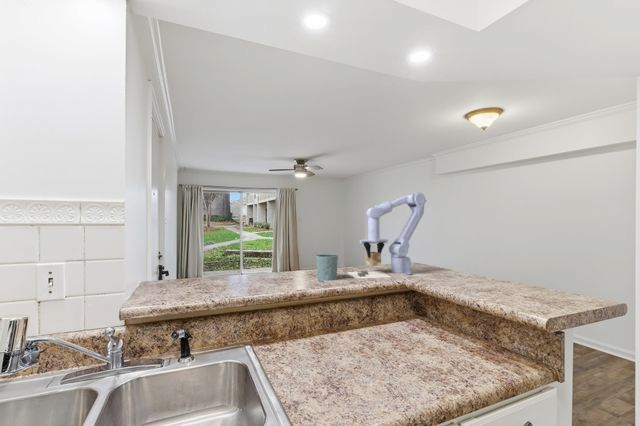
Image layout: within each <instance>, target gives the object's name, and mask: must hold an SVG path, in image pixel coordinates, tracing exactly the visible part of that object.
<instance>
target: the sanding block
mask: <svg viewBox="0 0 640 426" xmlns="http://www.w3.org/2000/svg"><path fill="white" fill-rule="evenodd" d="M366 264H368V265H370V266H373V267H375V266H382V252H381V253H378V251H370V258H368V255H367V254H366Z"/></svg>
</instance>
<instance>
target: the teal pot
mask: <svg viewBox="0 0 640 426" xmlns="http://www.w3.org/2000/svg"><path fill="white" fill-rule="evenodd" d="M315 260H316V261H315V262H316V269H317V281H318V283H321V282H322V284H325V281H326V282H327V281H336V280H337V279H338V261H339V255H338V254H335V253H325V254H324V253H322V254H316V255H315Z"/></svg>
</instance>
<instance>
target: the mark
mask: <svg viewBox="0 0 640 426" xmlns="http://www.w3.org/2000/svg"><path fill="white" fill-rule="evenodd" d="M360 272H361V273H364V274H365V275H368V272H369V271H367V270H360Z"/></svg>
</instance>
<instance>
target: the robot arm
mask: <svg viewBox="0 0 640 426" xmlns="http://www.w3.org/2000/svg"><path fill="white" fill-rule="evenodd" d="M425 196H426V195H425V194H424V193H422V192H417V193H408V194H405V195H402V196H401V197H398V198H397V199H394V200H392V201H391V202H390V201H386V200H384V201H382V202H381V203H380V204H375V205H374V207H370V208H368V209H367V210H366V212H365V216H366V217H367V231H368V232H367V236H368V237H367V239H366V238H365V239H359V244H363V247H364V249H365V251H366V256H367V255H368V258H370V252H371V247H372V245H371V244H376V248H377V252H378V253H381V254H382V251H383V249H384V247H385V244H389V239H387V238H386V239H385V238H382V239H381V238H380V237H381V236H380V232H381V231H380V218H381V217H382V216H384V215H387V214H389V213H391V212H392V211H393V208H396V207H399V206H401V205H405V204H406V205H407V206H408V207H409V210H411V213H410V216H409V218H408V219H407V221H406V223H405V225H404V227H403V229H402V230H401V232H400V234H399V236H398V237H397V238H396V239H394V240H393V242H392V243H391V244H390V245H389V246H388V252H389V254H390V256H391V257H390V258H391V261H390V262H391V264H390V265H391V270H390V271H391V273H396V274H397V273H398V274H404V275H412V264H411V263H412V262H411V258H410V257H409V256H407V255H408V253H409V247H410V244H409V241H410V240H411V238H412V236H413V234H414V232H415V230H416V229H417V226H418V225H419V223H420V221H421V219H422V217H423V216H424V213H425V204H426V202H427V199H426V197H425Z"/></svg>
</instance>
